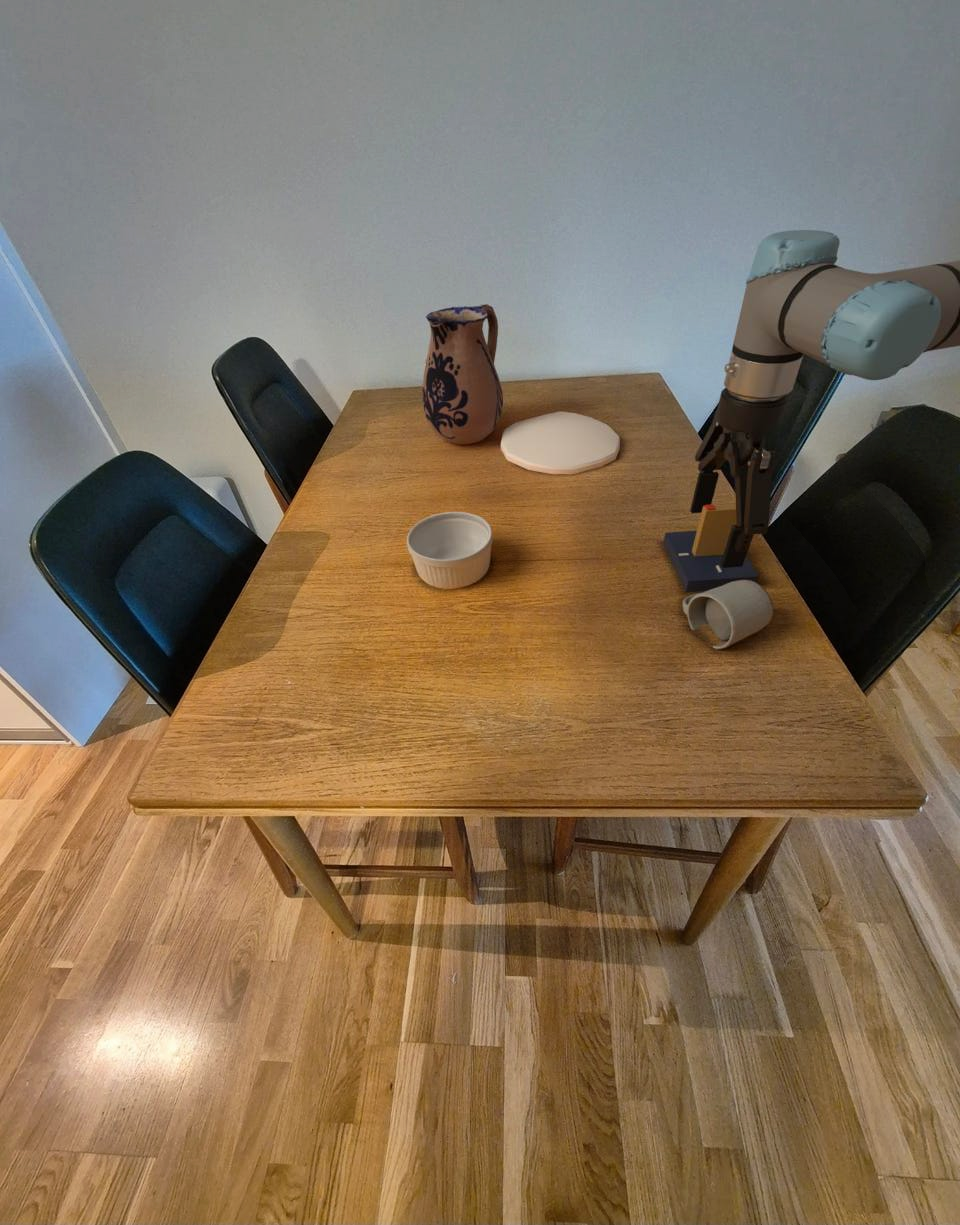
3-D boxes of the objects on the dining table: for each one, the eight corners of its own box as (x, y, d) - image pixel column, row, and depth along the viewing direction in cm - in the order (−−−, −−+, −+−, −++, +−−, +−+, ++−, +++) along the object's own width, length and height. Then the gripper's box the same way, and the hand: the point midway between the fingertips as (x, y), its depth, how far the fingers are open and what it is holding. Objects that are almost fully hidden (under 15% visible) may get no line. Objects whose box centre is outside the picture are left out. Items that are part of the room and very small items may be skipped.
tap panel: (753, 592, 78) (759, 575, 75) (684, 596, 78) (688, 580, 76) (724, 543, 86) (729, 527, 84) (662, 547, 87) (665, 531, 84)
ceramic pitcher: (413, 446, 120) (392, 324, 102) (461, 409, 132) (450, 295, 115) (480, 460, 113) (471, 331, 95) (524, 420, 125) (522, 300, 108)
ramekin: (456, 536, 93) (452, 501, 88) (511, 566, 86) (510, 531, 81) (397, 572, 87) (389, 537, 82) (451, 608, 79) (446, 572, 75)
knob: (724, 549, 80) (739, 501, 75) (728, 554, 79) (743, 507, 74) (691, 551, 81) (703, 504, 75) (694, 556, 80) (706, 509, 74)
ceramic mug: (768, 637, 71) (786, 593, 66) (723, 661, 68) (738, 617, 63) (708, 593, 78) (720, 551, 73) (665, 614, 76) (674, 571, 70)
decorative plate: (481, 422, 116) (578, 397, 123) (482, 440, 119) (577, 414, 126) (535, 470, 99) (646, 438, 106) (535, 490, 102) (643, 457, 109)
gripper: (691, 357, 73) (665, 494, 87) (767, 439, 54) (717, 594, 69) (747, 353, 72) (711, 490, 87) (841, 434, 54) (776, 590, 69)
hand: (714, 537), depth 78 cm, fingers open, 13 cm apart
